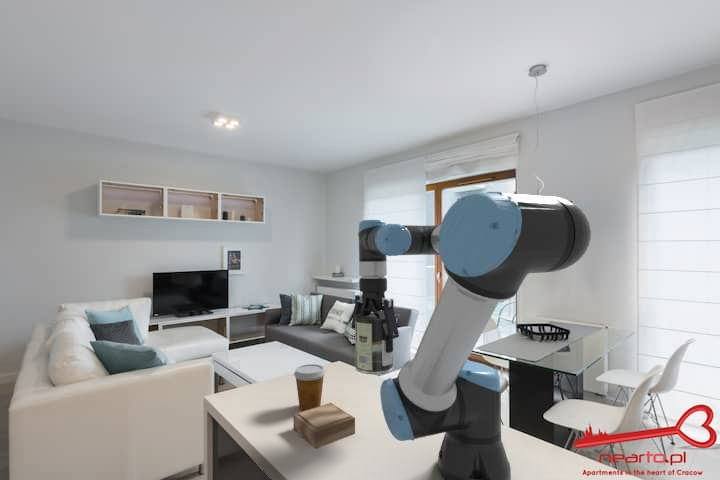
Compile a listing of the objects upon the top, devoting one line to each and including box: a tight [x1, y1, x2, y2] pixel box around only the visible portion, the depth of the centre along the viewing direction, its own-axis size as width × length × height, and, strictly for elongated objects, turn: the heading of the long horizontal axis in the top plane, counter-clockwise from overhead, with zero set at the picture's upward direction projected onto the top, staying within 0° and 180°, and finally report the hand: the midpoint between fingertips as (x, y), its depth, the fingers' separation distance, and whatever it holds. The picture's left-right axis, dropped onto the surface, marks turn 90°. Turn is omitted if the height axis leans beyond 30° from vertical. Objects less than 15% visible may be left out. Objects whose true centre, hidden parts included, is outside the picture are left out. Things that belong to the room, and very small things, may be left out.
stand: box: [292, 402, 356, 449], centre depth 97 cm, size 12×12×4 cm
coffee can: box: [354, 312, 394, 375], centre depth 97 cm, size 10×10×14 cm
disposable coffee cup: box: [293, 363, 326, 412], centre depth 111 cm, size 10×10×12 cm
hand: (374, 359), depth 97 cm, fingers closed on coffee can, 10 cm apart
